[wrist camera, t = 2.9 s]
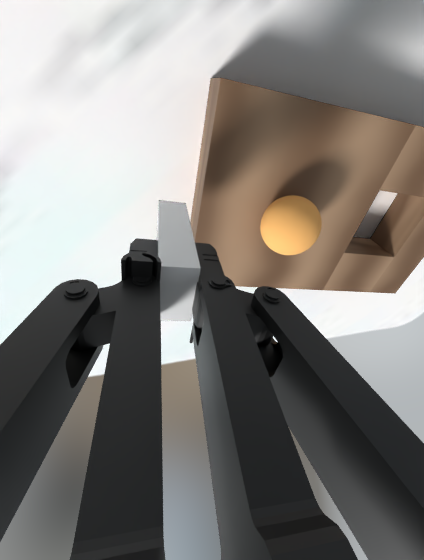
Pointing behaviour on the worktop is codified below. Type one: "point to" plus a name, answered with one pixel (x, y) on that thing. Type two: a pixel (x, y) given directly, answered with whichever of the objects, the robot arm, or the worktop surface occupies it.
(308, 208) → the ball
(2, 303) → the worktop surface
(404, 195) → the wooden block with hole
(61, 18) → the worktop surface
